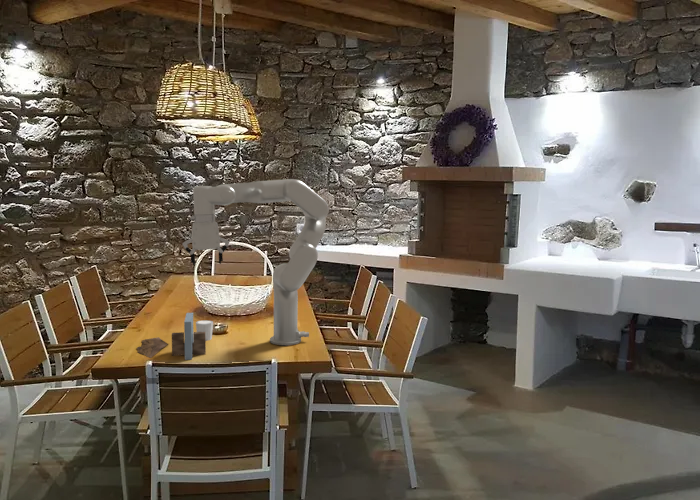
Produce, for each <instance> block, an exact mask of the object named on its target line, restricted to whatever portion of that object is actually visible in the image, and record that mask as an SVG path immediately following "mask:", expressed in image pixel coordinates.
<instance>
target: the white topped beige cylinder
mask: <svg viewBox="0 0 700 500" xmlns="http://www.w3.org/2000/svg"><path fill="white" fill-rule="evenodd" d="M195 328H196V330H195V331H196V332H205V336H206V341H211V340H212V338H213V328H214V321H213V320H207V319H205V320H197V321H196V322H195Z"/></svg>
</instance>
